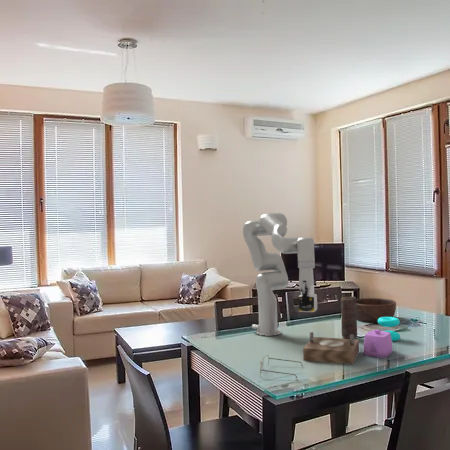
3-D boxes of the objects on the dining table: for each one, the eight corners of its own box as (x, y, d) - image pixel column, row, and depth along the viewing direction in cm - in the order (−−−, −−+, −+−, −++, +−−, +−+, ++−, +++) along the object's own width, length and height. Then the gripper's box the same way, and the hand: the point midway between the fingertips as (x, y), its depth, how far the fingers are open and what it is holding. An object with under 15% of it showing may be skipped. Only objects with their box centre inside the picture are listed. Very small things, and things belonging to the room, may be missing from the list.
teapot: (385, 361, 189) (384, 335, 189) (359, 357, 195) (358, 333, 195) (396, 350, 204) (395, 326, 204) (371, 347, 210) (370, 324, 210)
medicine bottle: (298, 311, 211) (297, 285, 211) (302, 309, 218) (301, 283, 218) (314, 312, 208) (313, 285, 208) (317, 309, 215) (316, 283, 215)
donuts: (396, 321, 216) (374, 319, 222) (397, 342, 216) (375, 340, 222) (402, 317, 224) (381, 315, 230) (402, 338, 224) (381, 335, 230)
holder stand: (303, 360, 193) (302, 337, 193) (313, 347, 212) (312, 327, 212) (353, 364, 186) (352, 340, 186) (359, 351, 204) (358, 329, 204)
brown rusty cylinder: (358, 340, 223) (356, 298, 223) (342, 340, 224) (340, 298, 224) (356, 336, 230) (355, 295, 230) (341, 336, 232) (340, 295, 232)
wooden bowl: (348, 315, 284) (348, 298, 284) (391, 314, 281) (390, 297, 281) (354, 323, 259) (353, 305, 259) (401, 323, 256) (400, 304, 256)
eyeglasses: (265, 365, 189) (265, 353, 189) (302, 367, 185) (302, 355, 185) (257, 378, 174) (256, 365, 174) (297, 380, 170) (296, 367, 170)
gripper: (302, 263, 223) (304, 300, 222) (293, 266, 206) (295, 306, 206) (318, 263, 220) (319, 301, 219) (310, 266, 204) (312, 307, 203)
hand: (307, 303), depth 213 cm, fingers closed on medicine bottle, 7 cm apart
